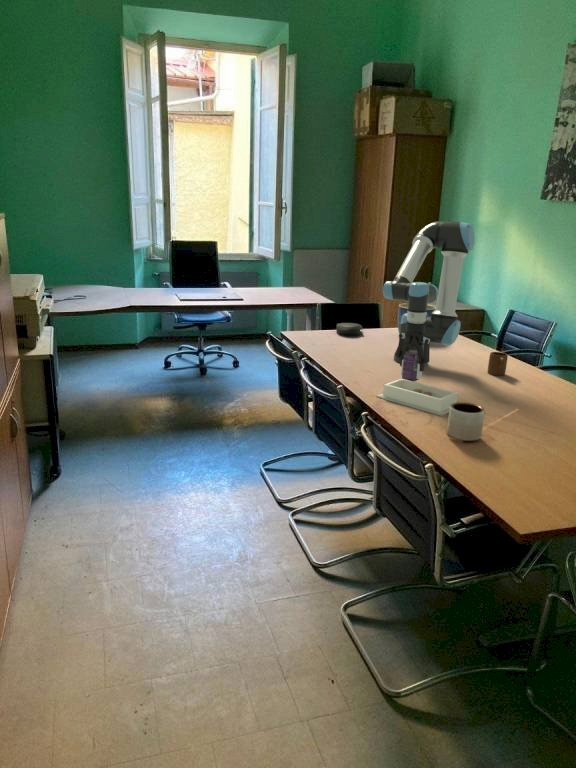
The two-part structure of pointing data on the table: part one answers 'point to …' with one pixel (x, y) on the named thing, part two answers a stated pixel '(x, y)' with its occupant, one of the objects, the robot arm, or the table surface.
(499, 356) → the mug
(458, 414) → the planter
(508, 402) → the table surface
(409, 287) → the robot arm
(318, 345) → the table surface
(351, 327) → the dark grey rounded block
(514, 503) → the table surface
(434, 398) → the white rectangular tray
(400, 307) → the planter
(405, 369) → the beverage can
